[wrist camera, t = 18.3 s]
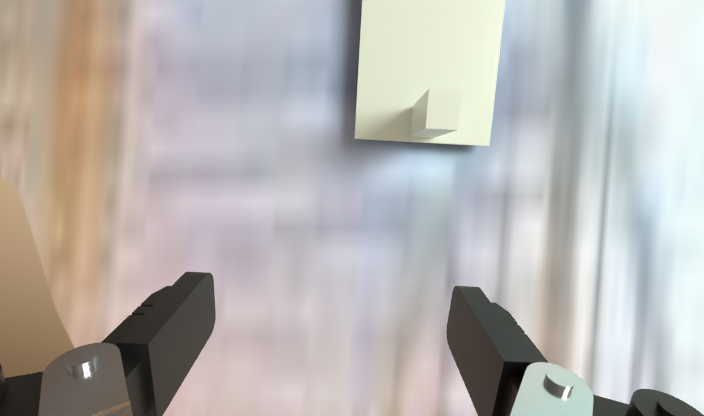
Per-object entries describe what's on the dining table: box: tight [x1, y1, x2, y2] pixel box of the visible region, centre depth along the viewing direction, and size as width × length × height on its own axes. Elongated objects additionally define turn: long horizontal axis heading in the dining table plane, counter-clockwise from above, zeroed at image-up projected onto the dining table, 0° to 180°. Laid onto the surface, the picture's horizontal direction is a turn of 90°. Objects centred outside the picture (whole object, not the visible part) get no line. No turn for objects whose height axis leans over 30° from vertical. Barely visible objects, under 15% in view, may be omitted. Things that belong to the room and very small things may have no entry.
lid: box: [355, 0, 505, 146], centre depth 31 cm, size 19×14×11 cm
